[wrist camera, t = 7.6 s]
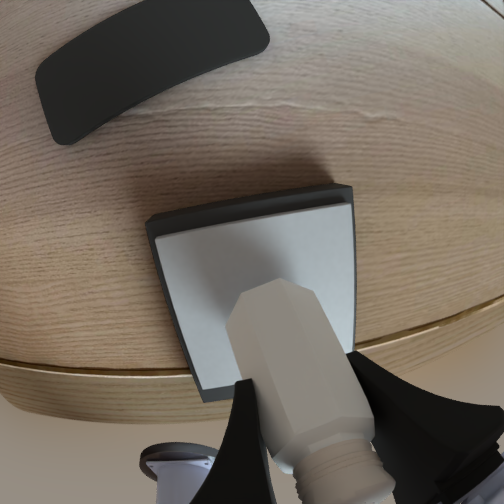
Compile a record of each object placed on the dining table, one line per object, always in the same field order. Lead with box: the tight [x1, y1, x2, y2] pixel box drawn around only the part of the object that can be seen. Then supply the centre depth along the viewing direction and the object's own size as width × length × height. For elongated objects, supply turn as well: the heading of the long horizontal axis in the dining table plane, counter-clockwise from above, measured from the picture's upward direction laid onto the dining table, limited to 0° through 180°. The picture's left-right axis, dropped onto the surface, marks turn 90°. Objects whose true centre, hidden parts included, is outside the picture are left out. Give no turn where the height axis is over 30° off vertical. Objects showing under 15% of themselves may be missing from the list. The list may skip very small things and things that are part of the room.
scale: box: [145, 183, 357, 403], centre depth 18 cm, size 14×12×3 cm
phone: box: [35, 0, 270, 145], centre depth 13 cm, size 7×1×15 cm
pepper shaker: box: [225, 278, 396, 504], centre depth 10 cm, size 5×5×11 cm
